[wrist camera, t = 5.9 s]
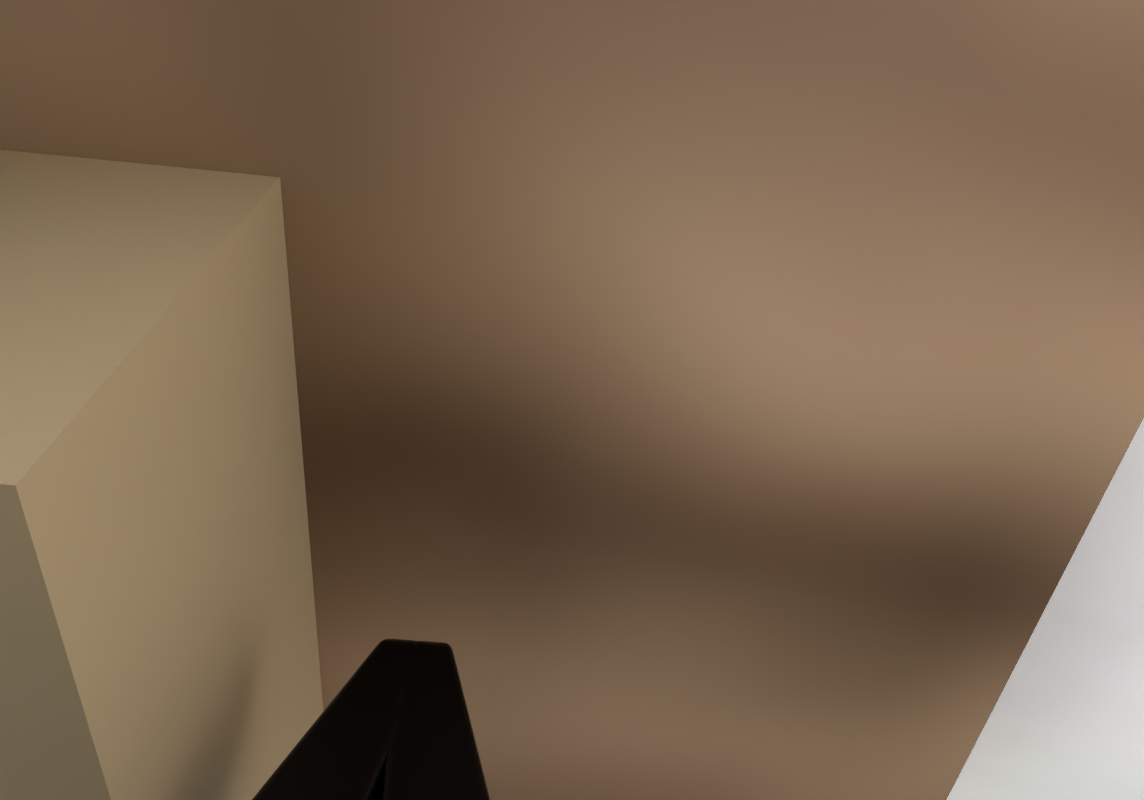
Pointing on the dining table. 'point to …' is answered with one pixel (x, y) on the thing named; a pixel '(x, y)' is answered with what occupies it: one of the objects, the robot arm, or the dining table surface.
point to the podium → (671, 347)
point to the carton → (149, 485)
